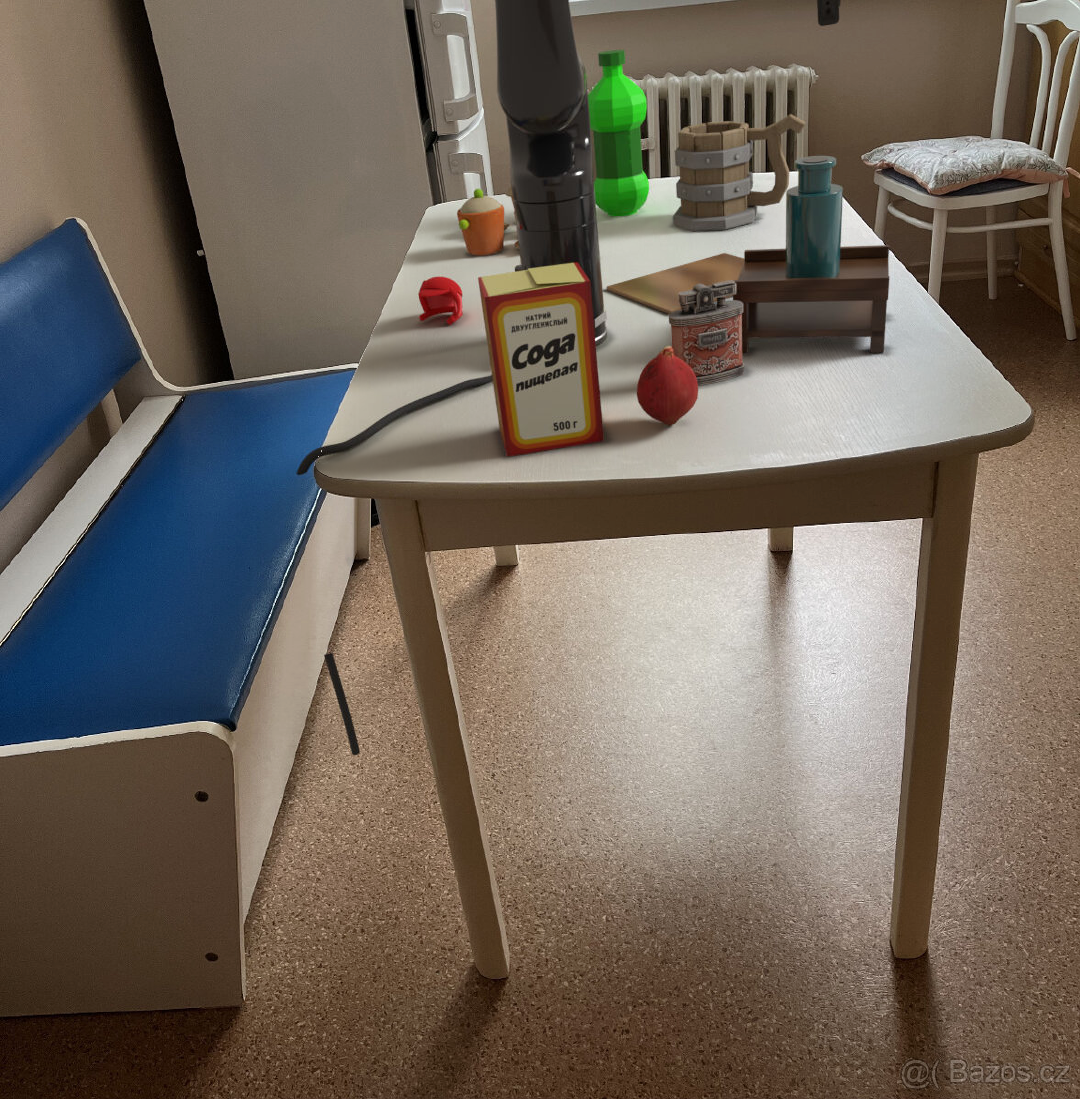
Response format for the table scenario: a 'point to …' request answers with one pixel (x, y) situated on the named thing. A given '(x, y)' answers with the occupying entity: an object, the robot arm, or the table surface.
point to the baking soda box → (543, 357)
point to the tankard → (726, 173)
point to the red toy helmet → (440, 298)
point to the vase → (813, 221)
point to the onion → (667, 387)
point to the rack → (815, 297)
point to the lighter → (709, 332)
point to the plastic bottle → (618, 138)
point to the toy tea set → (483, 224)
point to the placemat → (679, 281)
